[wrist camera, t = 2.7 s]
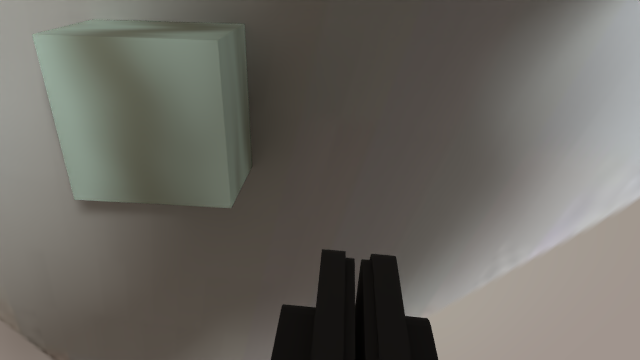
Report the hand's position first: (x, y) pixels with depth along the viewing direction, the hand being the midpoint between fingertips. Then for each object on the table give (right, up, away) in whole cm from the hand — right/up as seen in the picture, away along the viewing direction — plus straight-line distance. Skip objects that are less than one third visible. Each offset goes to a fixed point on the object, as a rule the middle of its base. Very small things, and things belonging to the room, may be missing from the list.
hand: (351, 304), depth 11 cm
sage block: (-8, +7, +12) cm, 16 cm away
